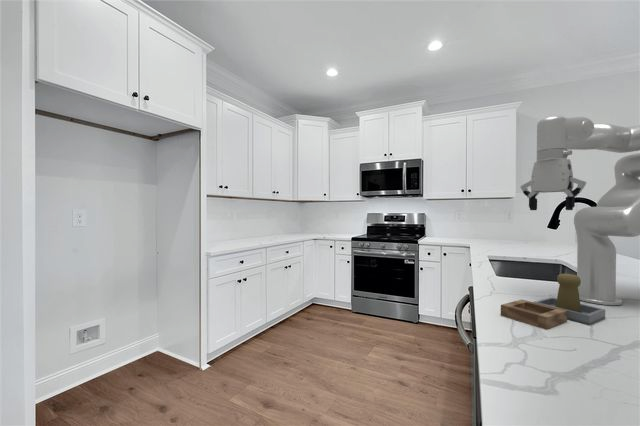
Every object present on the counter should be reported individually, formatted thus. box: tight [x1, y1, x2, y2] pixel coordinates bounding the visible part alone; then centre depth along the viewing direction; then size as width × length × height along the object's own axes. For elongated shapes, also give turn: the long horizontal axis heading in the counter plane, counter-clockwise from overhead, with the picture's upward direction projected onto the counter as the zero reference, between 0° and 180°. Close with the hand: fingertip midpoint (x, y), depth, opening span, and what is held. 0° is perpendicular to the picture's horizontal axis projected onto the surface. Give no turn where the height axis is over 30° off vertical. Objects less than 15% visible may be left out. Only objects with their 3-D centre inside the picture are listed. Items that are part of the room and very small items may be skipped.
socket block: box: [500, 299, 568, 330], centre depth 80 cm, size 11×11×3 cm
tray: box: [533, 297, 606, 326], centre depth 84 cm, size 11×13×2 cm
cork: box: [555, 273, 582, 313], centre depth 84 cm, size 6×6×11 cm
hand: (550, 210), depth 93 cm, fingers open, 9 cm apart
